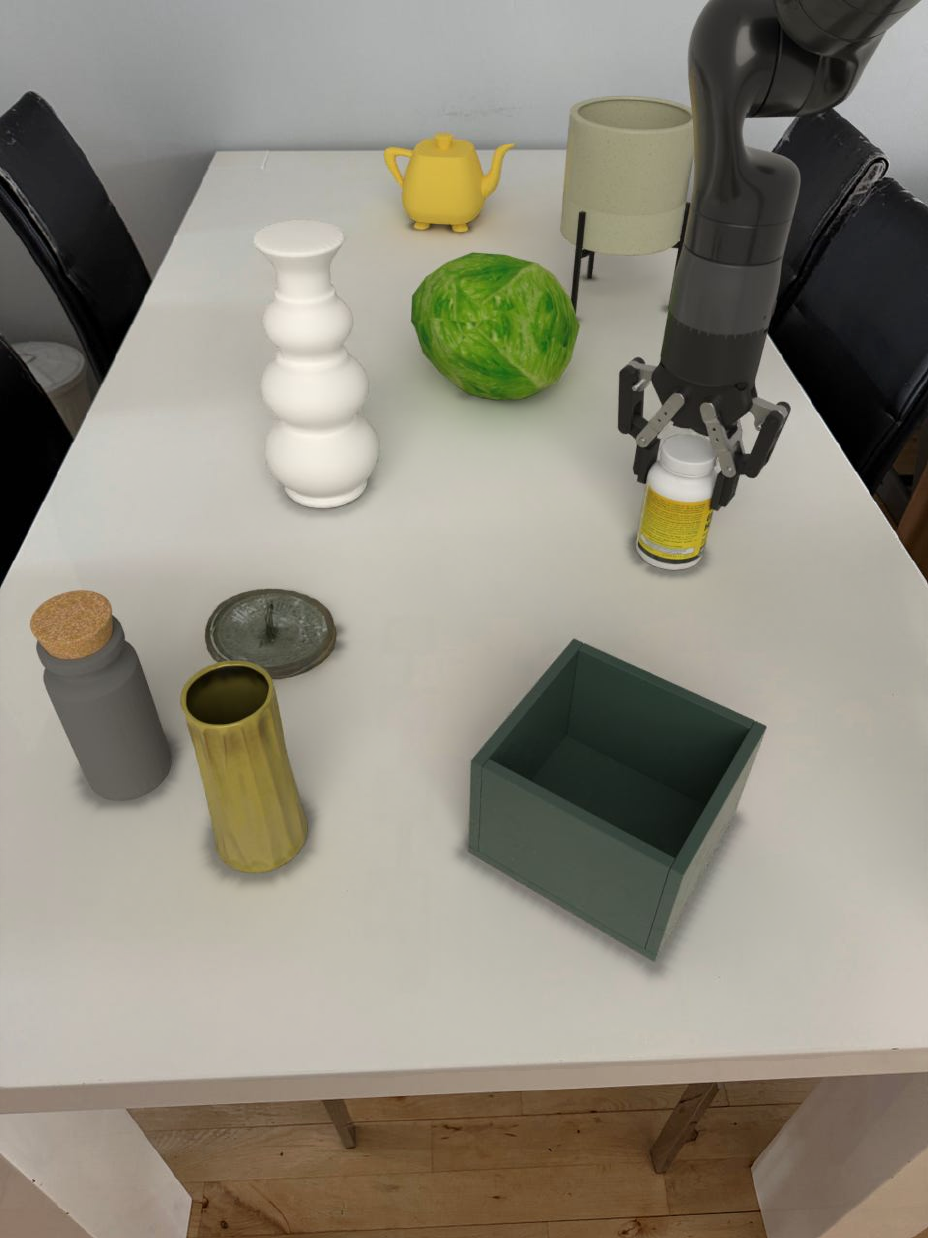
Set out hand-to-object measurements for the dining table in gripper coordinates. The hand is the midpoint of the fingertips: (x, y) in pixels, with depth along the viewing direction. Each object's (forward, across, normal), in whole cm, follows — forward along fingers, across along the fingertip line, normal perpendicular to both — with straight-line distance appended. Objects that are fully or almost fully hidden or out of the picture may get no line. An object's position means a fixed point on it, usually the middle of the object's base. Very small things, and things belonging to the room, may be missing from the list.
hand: (681, 491), depth 79 cm
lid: (+7, -21, -30) cm, 37 cm away
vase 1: (+7, -10, -44) cm, 45 cm away
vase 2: (+7, -32, -10) cm, 35 cm away
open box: (+7, +9, -31) cm, 33 cm away
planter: (+7, -29, +45) cm, 54 cm away
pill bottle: (+7, 0, 0) cm, 7 cm away
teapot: (+7, -63, +56) cm, 85 cm away
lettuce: (+7, -30, +16) cm, 35 cm away
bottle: (+7, -21, -45) cm, 50 cm away
